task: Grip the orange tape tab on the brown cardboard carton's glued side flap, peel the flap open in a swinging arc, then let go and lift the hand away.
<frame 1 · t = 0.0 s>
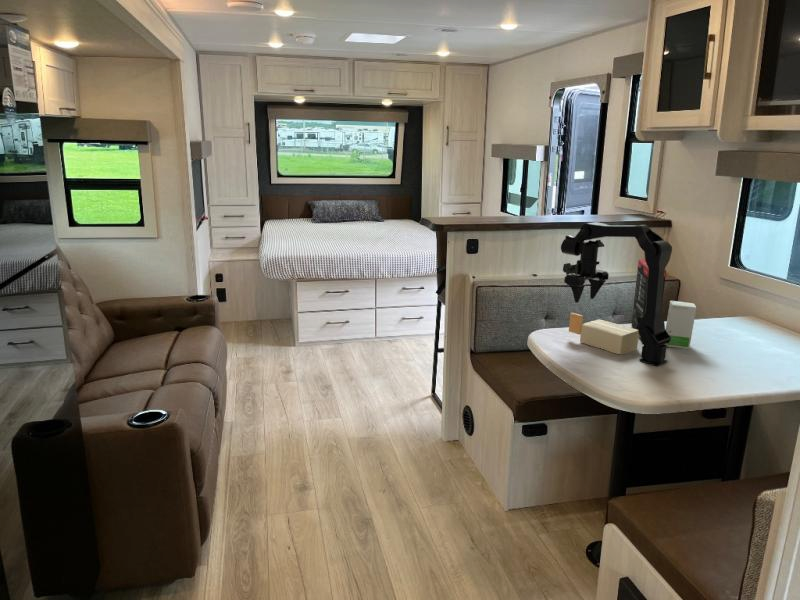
hand: (584, 300, 213), 15 cm above the table, tool pointing down, fingers open, 9 cm apart
skincare box: (676, 345, 212), on the table
carton: (608, 345, 210), on the table
graphics card box: (643, 334, 224), on the table
carton flap: (595, 332, 208), point 5 cm above the table, hinge at 0.0°
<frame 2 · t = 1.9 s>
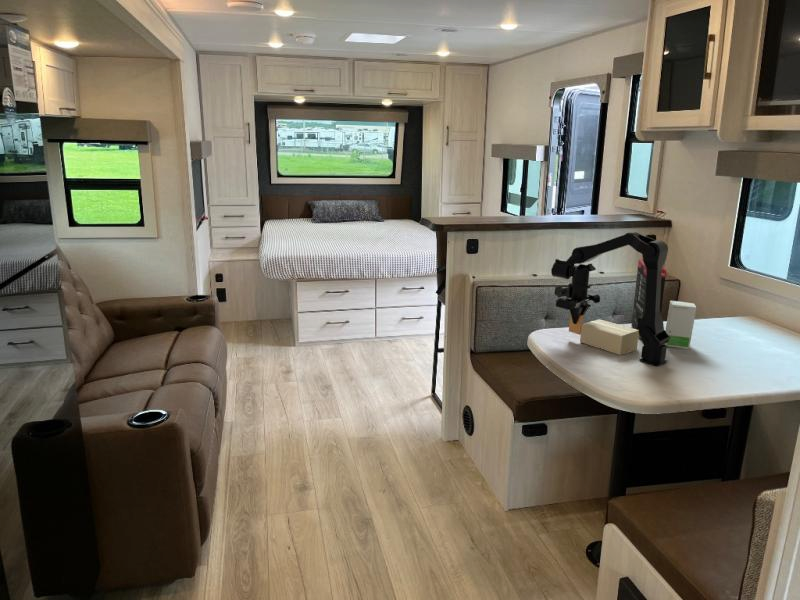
hand: (575, 323, 214), 7 cm above the table, tool pointing down, fingers closed on carton flap
carton flap: (595, 332, 208), point 5 cm above the table, hinge at 0.0°, touching gripper
everything else where it was.
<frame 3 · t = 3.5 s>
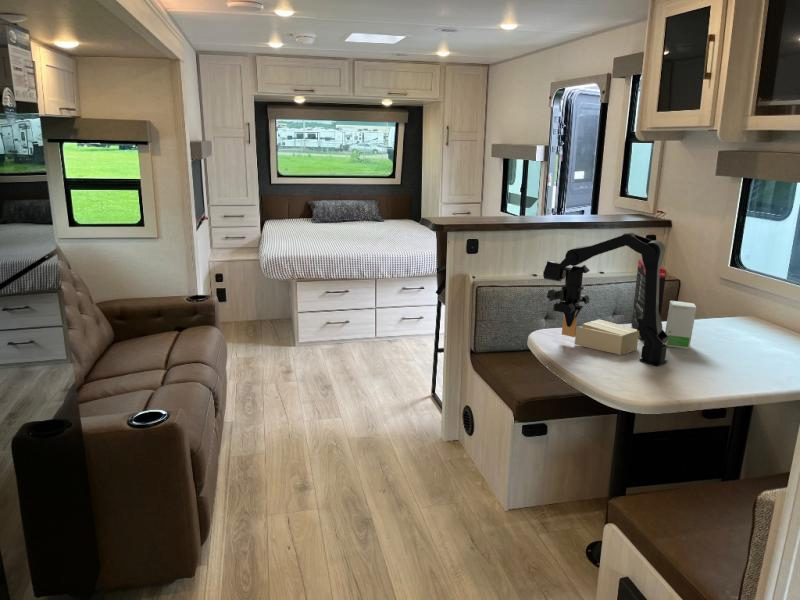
hand: (569, 326, 210), 7 cm above the table, tool pointing down, fingers closed on carton flap
carton flap: (591, 334, 206), point 5 cm above the table, hinge at 14.1°, touching gripper
everything else where it was.
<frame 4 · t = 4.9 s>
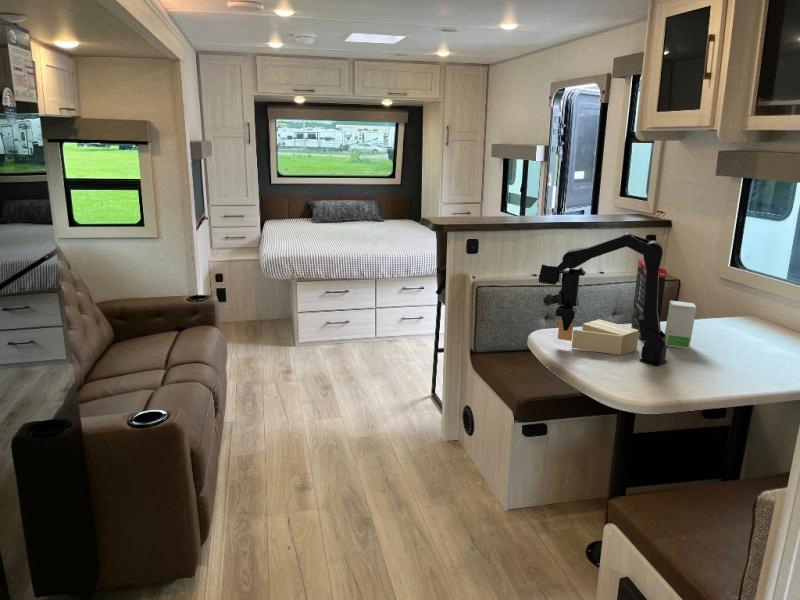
hand: (565, 329, 206), 7 cm above the table, tool pointing down, fingers closed
carton flap: (589, 336, 203), point 5 cm above the table, hinge at 30.2°, touching gripper
everything else where it was.
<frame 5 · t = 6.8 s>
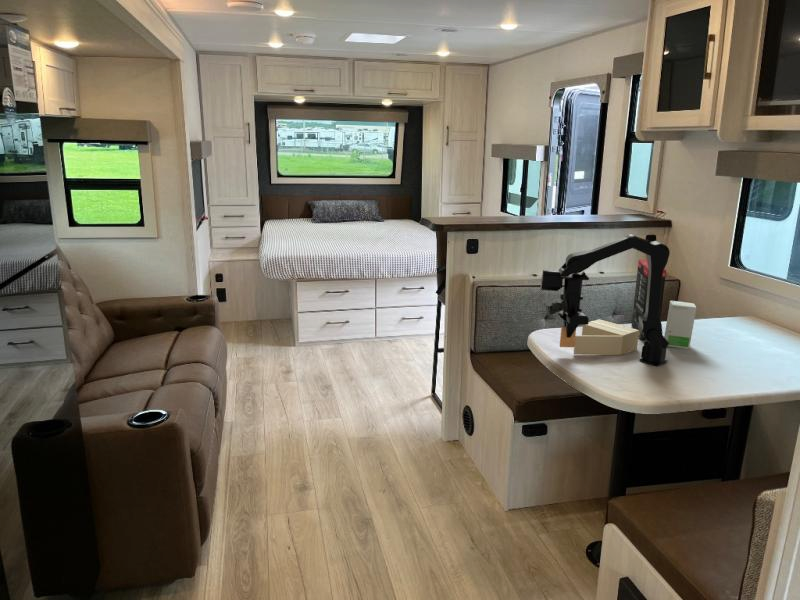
hand: (567, 336, 199), 7 cm above the table, tool pointing down, fingers closed on carton flap
carton flap: (591, 340, 199), point 5 cm above the table, hinge at 54.1°, touching gripper
everything else where it was.
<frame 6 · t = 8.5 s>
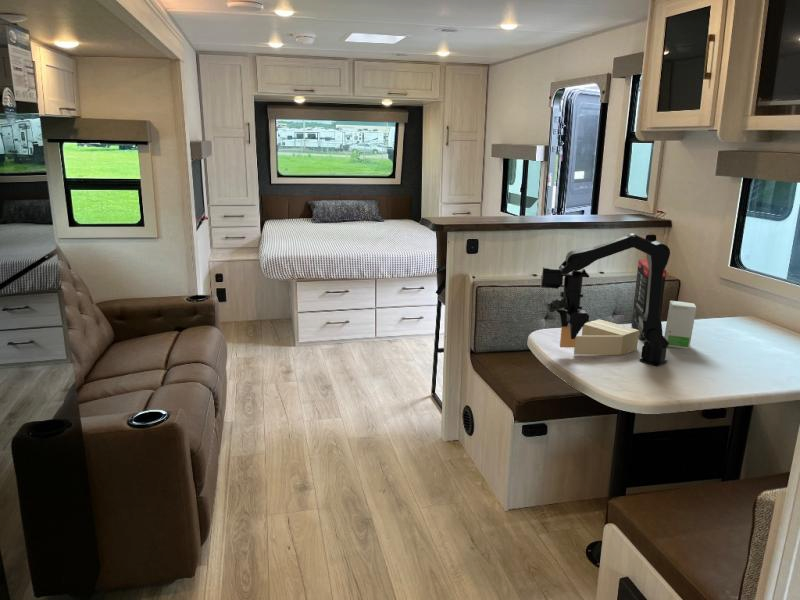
hand: (568, 334, 198), 7 cm above the table, tool pointing down, fingers open, 9 cm apart
carton flap: (591, 340, 199), point 5 cm above the table, hinge at 54.7°
everything else where it was.
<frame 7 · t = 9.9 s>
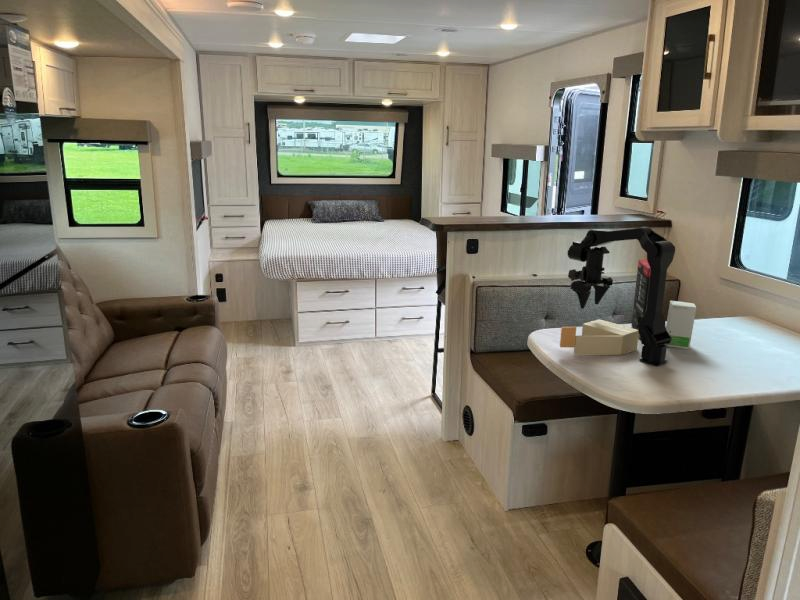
hand: (589, 306, 215), 12 cm above the table, tool pointing down, fingers open, 9 cm apart
nothing on the table moved.
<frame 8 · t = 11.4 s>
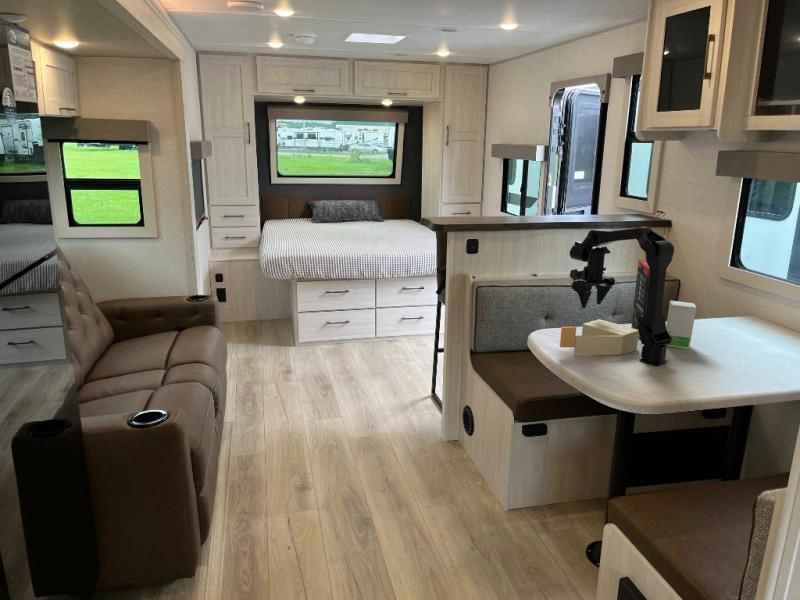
hand: (591, 306, 216), 12 cm above the table, tool pointing down, fingers open, 9 cm apart
nothing on the table moved.
at the end: carton flap at +55° (first picture: +0°); the gripper is holding nothing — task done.
